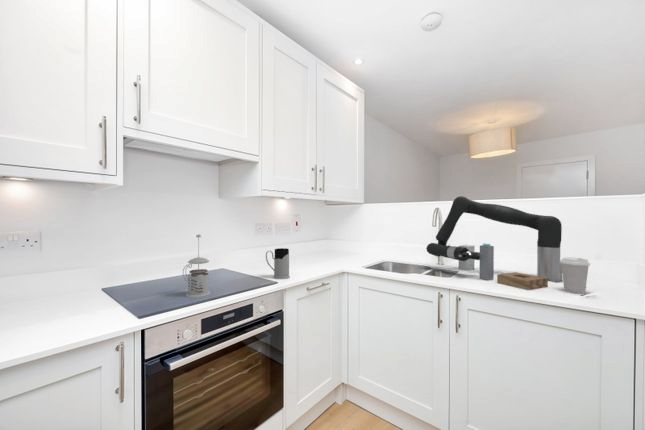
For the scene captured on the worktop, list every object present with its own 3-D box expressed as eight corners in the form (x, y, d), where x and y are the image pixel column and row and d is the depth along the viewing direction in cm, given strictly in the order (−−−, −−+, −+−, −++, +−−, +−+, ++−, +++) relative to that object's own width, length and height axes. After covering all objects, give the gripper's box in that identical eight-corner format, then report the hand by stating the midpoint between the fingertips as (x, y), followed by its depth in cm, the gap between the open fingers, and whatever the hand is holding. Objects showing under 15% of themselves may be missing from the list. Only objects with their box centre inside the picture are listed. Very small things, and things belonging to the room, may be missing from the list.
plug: (485, 279, 143) (485, 243, 143) (493, 281, 139) (493, 244, 139) (479, 280, 141) (479, 243, 141) (487, 282, 137) (487, 244, 137)
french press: (202, 298, 110) (202, 235, 110) (176, 296, 112) (176, 235, 112) (215, 291, 120) (215, 233, 119) (191, 289, 122) (191, 233, 121)
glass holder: (284, 279, 141) (284, 250, 141) (261, 277, 146) (261, 249, 146) (292, 276, 149) (292, 248, 149) (270, 274, 154) (270, 247, 154)
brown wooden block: (515, 282, 138) (515, 272, 138) (547, 289, 125) (547, 278, 125) (497, 284, 132) (497, 274, 132) (528, 292, 120) (528, 280, 120)
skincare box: (465, 267, 176) (465, 244, 176) (475, 269, 171) (475, 245, 171) (457, 269, 171) (458, 245, 171) (467, 270, 166) (467, 246, 166)
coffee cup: (582, 298, 112) (582, 261, 112) (555, 291, 121) (555, 257, 121) (594, 295, 116) (595, 259, 116) (567, 289, 124) (567, 256, 124)
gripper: (448, 247, 153) (475, 250, 138) (466, 246, 158) (494, 249, 144) (448, 260, 153) (475, 265, 138) (466, 259, 158) (494, 263, 144)
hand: (484, 257), depth 141 cm, fingers open, 8 cm apart
